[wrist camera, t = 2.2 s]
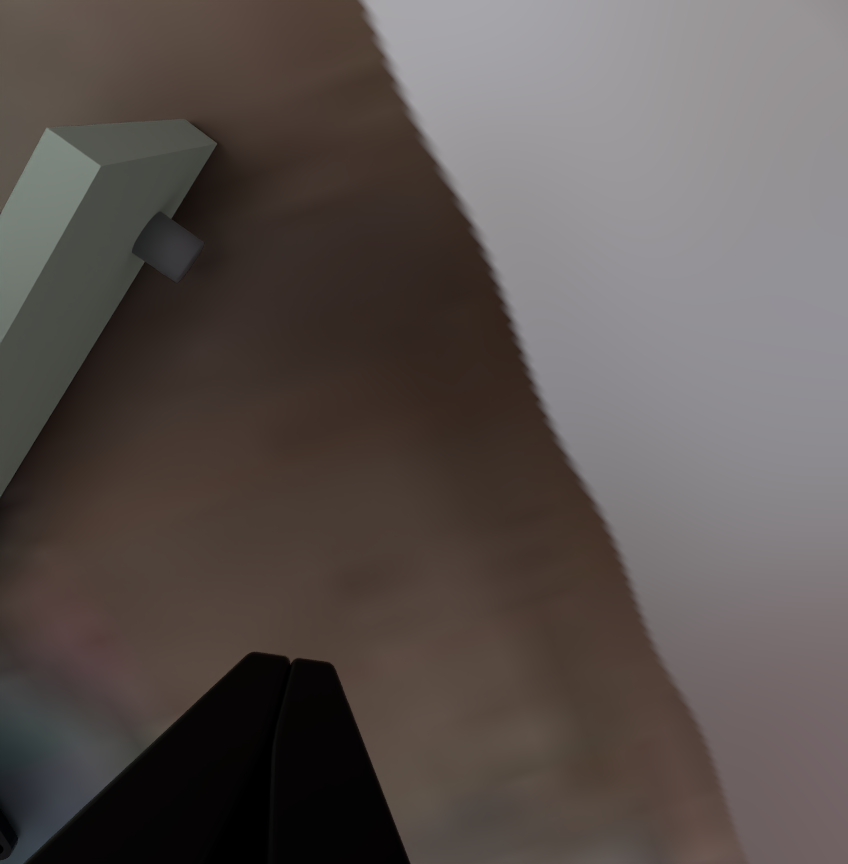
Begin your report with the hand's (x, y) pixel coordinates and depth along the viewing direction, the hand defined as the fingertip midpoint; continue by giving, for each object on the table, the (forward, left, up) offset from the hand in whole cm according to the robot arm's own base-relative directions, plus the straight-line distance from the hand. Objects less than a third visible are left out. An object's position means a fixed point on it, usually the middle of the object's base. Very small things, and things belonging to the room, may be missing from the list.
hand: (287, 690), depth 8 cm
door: (+1, +6, -11) cm, 13 cm away
